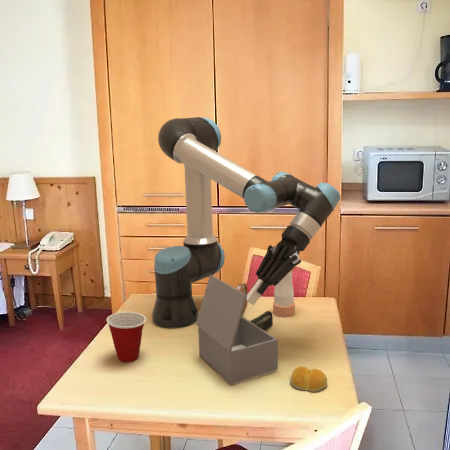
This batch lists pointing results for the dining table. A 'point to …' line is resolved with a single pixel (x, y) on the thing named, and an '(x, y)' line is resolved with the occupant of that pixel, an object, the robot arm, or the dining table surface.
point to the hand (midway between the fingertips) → (249, 301)
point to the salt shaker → (284, 297)
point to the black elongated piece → (263, 320)
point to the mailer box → (241, 353)
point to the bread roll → (308, 379)
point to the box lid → (221, 311)
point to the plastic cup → (126, 334)
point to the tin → (243, 289)
